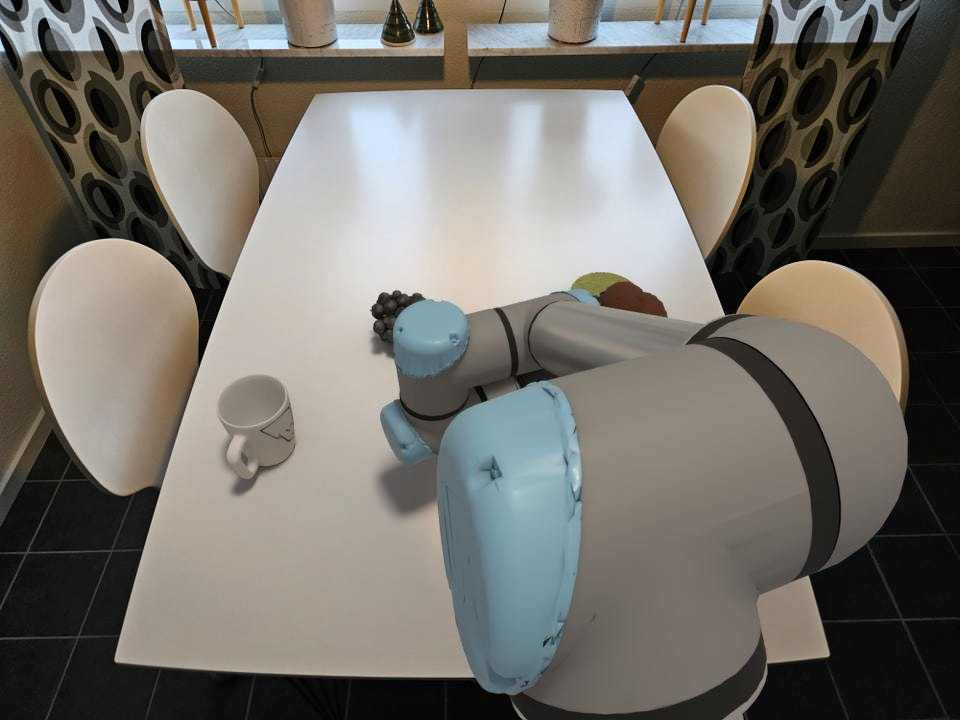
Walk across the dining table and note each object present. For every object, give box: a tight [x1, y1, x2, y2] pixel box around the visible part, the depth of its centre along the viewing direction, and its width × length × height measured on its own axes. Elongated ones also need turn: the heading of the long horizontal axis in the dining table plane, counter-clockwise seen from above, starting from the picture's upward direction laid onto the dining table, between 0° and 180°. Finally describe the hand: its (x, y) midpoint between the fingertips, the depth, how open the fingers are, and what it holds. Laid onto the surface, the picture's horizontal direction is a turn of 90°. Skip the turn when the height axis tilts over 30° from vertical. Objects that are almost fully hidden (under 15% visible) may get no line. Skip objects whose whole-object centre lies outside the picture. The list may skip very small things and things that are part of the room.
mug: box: [215, 373, 296, 480], centre depth 80 cm, size 11×8×10 cm
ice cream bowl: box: [598, 280, 669, 318], centre depth 83 cm, size 11×11×15 cm
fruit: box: [369, 289, 435, 344], centre depth 96 cm, size 9×8×15 cm
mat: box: [570, 271, 635, 297], centre depth 104 cm, size 11×11×2 cm
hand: (650, 322), depth 84 cm, fingers closed on ice cream bowl, 11 cm apart
